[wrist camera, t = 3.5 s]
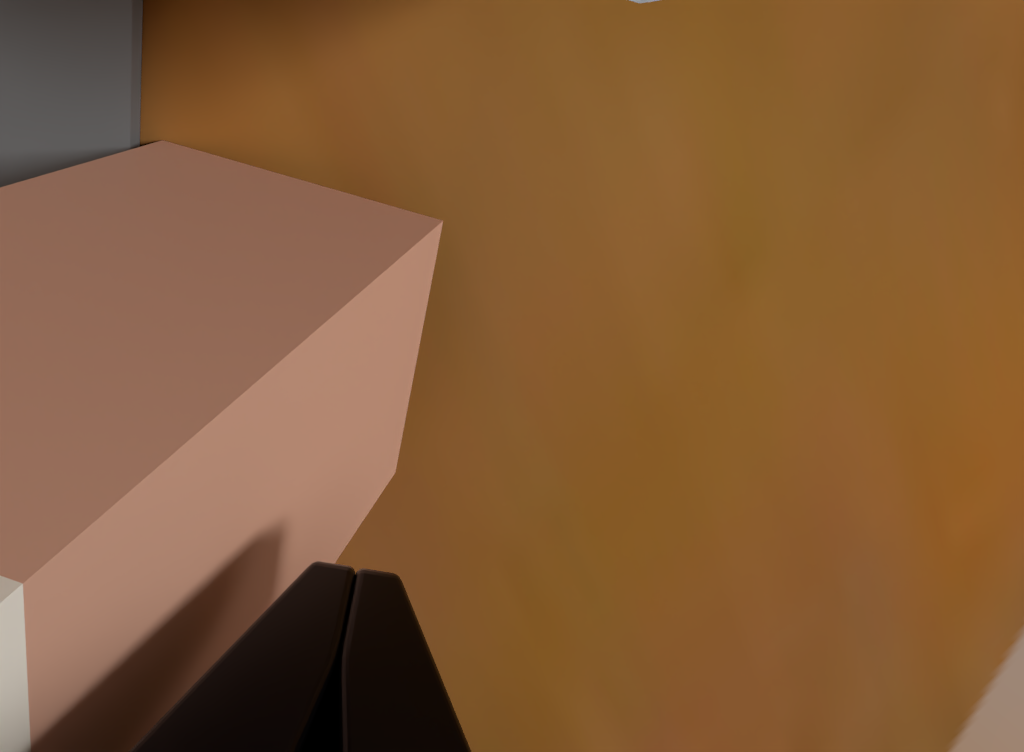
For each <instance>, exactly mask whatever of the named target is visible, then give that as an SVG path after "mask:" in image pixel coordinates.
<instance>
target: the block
mask: <svg viewBox="0 0 1024 752" xmlns="http://www.w3.org/2000/svg"><path fill="white" fill-rule="evenodd" d="M442 224H443V221H442V220H439V219H435V218H432V217H428V216H425V215H421V214H418V213H414V212H411V211H407V210H404V209H400V208H397V207H393V206H390V205H386V204H383V203H379V202H376V201H372V200H369V199H366V198H362V197H359V196H355V195H352V194H348V193H345V192H341V191H338V190H334V189H331V188H327V187H324V186H320V185H317V184H313V183H310V182H306V181H303V180H299V179H296V178H292V177H289V176H285V175H282V174H279V173H275V172H272V171H268V170H265V169H261V168H258V167H254V166H251V165H247V164H244V163H240V162H237V161H233V160H230V159H226V158H223V157H219V156H216V155H212V154H209V153H205V152H202V151H198V150H195V149H192V148H188V147H185V146H181V145H178V144H174V143H171V142H167V141H164V140H162V141H158V142H155V143H151V144H148V145H144V146H141V147H137V148H134V149H131V150H127V151H124V152H120V153H117V154H113V155H110V156H107V157H103V158H100V159H96V160H93V161H89V162H86V163H83V164H79V165H76V166H72V167H69V168H65V169H62V170H58V171H55V172H52V173H48V174H45V175H41V176H38V177H34V178H31V179H28V180H24V181H21V182H17V183H14V184H10V185H7V186H4V187H0V752H129V751H130V750H131V749H132V748H133V747H134V746H135V745H136V744H137V743H138V741H139V740H140V739H141V738H142V737H143V736H144V735H145V734H146V733H147V732H148V731H149V730H150V729H151V728H152V727H153V726H154V725H155V724H156V723H157V722H158V721H159V720H160V719H161V718H162V717H163V716H164V715H165V714H166V713H167V712H168V711H169V710H170V708H171V707H172V706H173V705H174V704H175V703H176V702H177V701H178V700H179V699H180V698H181V697H182V696H183V695H184V694H185V693H186V692H187V691H188V690H189V689H190V688H191V687H192V686H193V685H194V684H195V683H196V682H197V681H198V680H199V679H200V678H201V677H202V675H203V674H204V673H205V672H206V671H207V670H208V669H209V668H210V667H211V666H212V665H213V664H214V663H215V662H216V661H217V660H218V659H219V658H220V657H221V656H222V655H223V654H224V653H225V652H226V651H227V650H228V649H229V648H230V647H231V646H232V645H233V644H234V642H235V641H236V640H237V639H238V638H239V637H240V636H241V635H242V634H243V633H244V632H245V631H246V630H247V629H248V628H249V627H250V626H251V625H252V624H253V623H254V622H255V621H256V620H257V619H258V618H259V617H260V616H261V615H262V614H263V613H264V612H265V611H266V609H267V608H268V607H269V606H270V605H271V604H272V603H273V602H274V601H275V600H276V599H277V598H278V597H279V596H280V595H281V594H282V593H283V592H284V591H285V590H286V589H287V588H288V587H289V586H290V585H291V584H292V583H293V582H294V581H295V580H296V579H297V578H298V576H299V575H300V574H301V573H302V572H303V571H304V570H305V569H306V568H307V567H308V566H309V565H311V564H312V563H314V562H317V561H321V562H327V563H333V564H334V563H335V562H336V560H337V559H338V557H339V556H340V554H341V553H342V551H343V550H344V548H345V547H346V545H347V544H348V543H349V541H350V540H351V538H352V537H353V535H354V534H355V532H356V531H357V529H358V528H359V526H360V525H361V523H362V522H363V520H364V519H365V517H366V516H367V514H368V513H369V511H370V510H371V508H372V507H373V505H374V504H375V502H376V501H377V499H378V498H379V496H380V495H381V493H382V492H383V490H384V489H385V487H386V486H387V484H388V483H389V481H390V480H391V478H392V477H393V475H394V474H395V471H396V466H397V461H398V456H399V450H400V445H401V440H402V435H403V429H404V424H405V419H406V414H407V408H408V403H409V398H410V393H411V387H412V382H413V377H414V372H415V366H416V361H417V356H418V350H419V345H420V340H421V335H422V329H423V324H424V319H425V314H426V308H427V303H428V298H429V293H430V287H431V282H432V277H433V272H434V266H435V261H436V256H437V251H438V245H439V240H440V235H441V229H442Z"/></svg>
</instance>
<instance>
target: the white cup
mask: <svg viewBox="0 0 1024 752" xmlns="http://www.w3.org/2000/svg"><path fill="white" fill-rule="evenodd" d="M630 1H634V2H637V3H644V2H651V1H658V0H630Z"/></svg>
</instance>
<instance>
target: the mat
mask: <svg viewBox="0 0 1024 752" xmlns="http://www.w3.org/2000/svg"><path fill="white" fill-rule="evenodd" d="M142 15H143V0H0V187H4V186H7V185H10V184H14V183H17V182H21V181H24V180H28V179H31V178H34V177H38V176H41V175H45V174H48V173H52V172H55V171H58V170H62V169H65V168H69V167H72V166H76V165H79V164H83V163H86V162H89V161H93V160H96V159H100V158H103V157H107V156H110V155H113V154H117V153H120V152H124V151H127V150H131V149H134V148H137V147H140V107H141V61H142Z"/></svg>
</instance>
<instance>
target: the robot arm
mask: <svg viewBox="0 0 1024 752" xmlns="http://www.w3.org/2000/svg"><path fill="white" fill-rule="evenodd" d="M129 752H471V750H470V747H469V745H468V742H467V740H466V738H465V735H464V733H463V730H462V728H461V725H460V723H459V720H458V718H457V715H456V713H455V711H454V708H453V706H452V703H451V701H450V698H449V696H448V693H447V691H446V689H445V686H444V684H443V681H442V679H441V676H440V674H439V671H438V669H437V666H436V664H435V662H434V659H433V657H432V654H431V652H430V649H429V647H428V644H427V642H426V639H425V637H424V635H423V632H422V630H421V627H420V625H419V622H418V620H417V617H416V615H415V612H414V610H413V608H412V605H411V603H410V600H409V598H408V595H407V593H406V590H405V588H404V586H403V583H402V581H401V579H400V577H399V576H398V575H396V574H394V573H389V572H382V571H376V570H370V569H360V570H358V571H357V572H356V575H355V571H354V569H353V568H352V567H350V566H346V565H339V564H333V563H327V562H321V561H317V562H314V563H312V564H311V565H309V566H308V567H307V568H306V569H305V570H304V571H303V572H302V573H301V574H300V575H299V576H298V578H297V579H296V580H295V581H294V582H293V583H292V584H291V585H290V586H289V587H288V588H287V589H286V590H285V591H284V592H283V593H282V594H281V595H280V596H279V597H278V598H277V599H276V600H275V601H274V602H273V603H272V604H271V605H270V606H269V607H268V608H267V609H266V611H265V612H264V613H263V614H262V615H261V616H260V617H259V618H258V619H257V620H256V621H255V622H254V623H253V624H252V625H251V626H250V627H249V628H248V629H247V630H246V631H245V632H244V633H243V634H242V635H241V636H240V637H239V638H238V639H237V640H236V641H235V642H234V644H233V645H232V646H231V647H230V648H229V649H228V650H227V651H226V652H225V653H224V654H223V655H222V656H221V657H220V658H219V659H218V660H217V661H216V662H215V663H214V664H213V665H212V666H211V667H210V668H209V669H208V670H207V671H206V672H205V673H204V674H203V675H202V677H201V678H200V679H199V680H198V681H197V682H196V683H195V684H194V685H193V686H192V687H191V688H190V689H189V690H188V691H187V692H186V693H185V694H184V695H183V696H182V697H181V698H180V699H179V700H178V701H177V702H176V703H175V704H174V705H173V706H172V707H171V708H170V710H169V711H168V712H167V713H166V714H165V715H164V716H163V717H162V718H161V719H160V720H159V721H158V722H157V723H156V724H155V725H154V726H153V727H152V728H151V729H150V730H149V731H148V732H147V733H146V734H145V735H144V736H143V737H142V738H141V739H140V740H139V741H138V743H137V744H136V745H135V746H134V747H133V748H132V749H131V750H130V751H129Z"/></svg>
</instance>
